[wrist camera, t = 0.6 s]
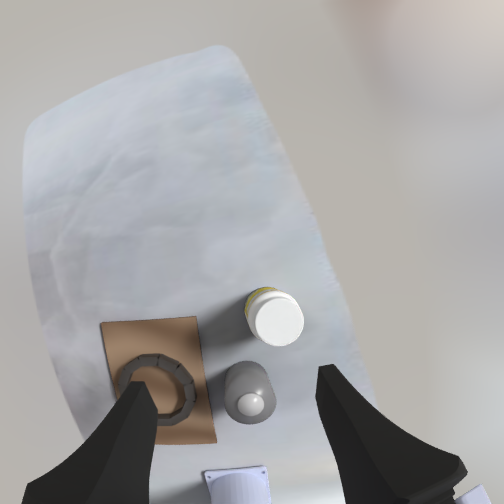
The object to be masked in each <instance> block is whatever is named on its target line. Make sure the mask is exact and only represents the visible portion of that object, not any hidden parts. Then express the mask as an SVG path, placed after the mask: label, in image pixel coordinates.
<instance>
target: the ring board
mask: <svg viewBox="0 0 504 504" xmlns="http://www.w3.org/2000/svg"><path fill="white" fill-rule="evenodd" d="M101 326H102V332H103V338H104V343H105V348H106V353H107V358H108V363H109V367H110V372H111V376H112V380H113V384H114V388H115V392H116V396H117V400H118V399H119V398H120V396H121V395H122V393H123V392H124V390H125V389H126V387H127V386H128V385H129V383H130V382H131V381H144V382H145V384H146V386H147V388H148V390H149V393H150V395H151V397H152V399H153V401H154V403H155V405H156V407H157V409H158V422H157V433H156V439H155V444H159V445H186V444H211V443H217V438H216V433H215V428H214V423H213V418H212V413H211V407H210V402H209V396H208V391H207V385H206V379H205V373H204V367H203V360H202V354H201V347H200V340H199V333H198V326H197V319H196V316H191V317H179V318H166V319H152V320H136V321H117V322H102V323H101Z"/></svg>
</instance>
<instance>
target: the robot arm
mask: <svg viewBox="0 0 504 504" xmlns="http://www.w3.org/2000/svg"><path fill="white" fill-rule="evenodd" d="M315 398H316V402H317V406H318V411H319V415H320V418H321V421H322V424H323V427H324V429H325V432H326V435H327V437H328V440H329V443H330V445H331V448H332V451H333V453H334V456H335V459H336V462H337V465H338V470H339V474H340V478H341V482H342V487H343V492H344V497H345V502H346V504H491V502H490V500H489V498H488V496H487V494H486V492H485V490H484V488H483V486H482V484H479V485H478V486H476V487H475V488H473V489H471V490H470V491H468V492H467V493H465V494H464V495H462V496H460V497H459V498H457V499H456V500H454V499H453V495H454V494H455V492H454V490H453V487H454V486H455V485H456V484H458V483H459V482H460V481H461V480H462V479H463V478H464V477H465V476H466V475H467V473H468V471H467V470H466V468H465V466H464V464H463V462H462V461H461V459H460V458H459V456H456V455H453V454H451V453H448V452H445V451H443V450H440V449H438V448H435V447H433V446H431V445H429V444H427V443H425V442H423V441H421V440H419V439H418V438H416V437H414V436H412V435H411V434H409V433H407V432H406V431H404V430H403V429H401V428H400V427H398V426H397V425H395V424H394V423H393V422H391V421H390V420H389V419H387V418H386V417H385V416H383V415H382V414H381V413H380V412H379V411H378V410H377V409H375V408H374V407H373V406H372V405H371V404H370V403H369V402H368V401H367V400H366V399H365V398H364V397H363V396H362V395H361V394H360V393H359V392H358V391H357V390H356V389H355V388H354V387H353V386H352V385H351V384H350V382H349V381H348V380H347V379H346V378H345V377H344V376H343V374H342V373H341V372H340V371H339V370H338V368H337V367H336V366H335V365H334V364H330V365H325V366H319V369H318V378H317V387H316V395H315ZM157 422H158V409H157V407H156V405H155V403H154V401H153V399H152V397H151V395H150V393H149V390H148V388H147V386H146V384H145V382H144V381H131V382H130V383H129V385H128V386H127V387H126V389H125V390H124V392H123V393H122V395H121V396H120V398H119V399H118V400H117V402H116V403H115V405H114V406H113V408H112V409H111V410H110V412H109V413H108V414H107V416H106V417H105V418H104V420H103V421H102V422H101V423H100V425H99V426H98V427H97V428H96V430H95V431H94V432H93V433H92V434H91V436H90V437H89V438H88V439H87V440H86V441H85V442H84V443H83V444H82V445H81V446H80V447H79V448H78V449H77V450H76V451H75V452H74V453H73V454H72V455H70V456H69V457H68V458H67V459H66V460H64V461H63V462H62V463H61V464H59V465H58V466H56V467H55V468H54V469H52V470H51V471H49V472H48V473H46V474H45V475H43V476H41V477H39V478H37V479H36V480H34V481H32V482H30V483H28V484H27V486H26V490H25V493H24V497H23V501H22V504H149V476H150V468H151V462H152V456H153V451H154V445H155V439H156V433H157ZM262 471H264V472H262ZM204 475H205V479H206V482H207V486H208V489H209V492H210V496H211V504H271V498H270V491H269V483H268V475H267V468H266V467H265V466H258V467H250V468H241V469H229V470H214V471H205V473H204ZM208 476H210V477H208Z"/></svg>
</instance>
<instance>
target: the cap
mask: <svg viewBox="0 0 504 504" xmlns="http://www.w3.org/2000/svg"><path fill="white" fill-rule="evenodd" d="M275 407H276V396H275V394H274V391H273V388H272V386H271V383H270V380H269V378H268V375H267V373H266V371H265V369H264V368H263V367H262V366H261V365H259V364H258V363H256V362H252V361H242V362H238V363H236V364H234V365H233V366H232V367H230V368H229V370H228V371H227V373H226V376H225V409H226V411H227V413H228V415H229V416H230V417H231V418H232V419H234V420H235V421H237V422H239V423H242V424H257V423H260V422H263V421H264V420H266V419H267V418H269V417H270V416H271V415H272V413H273V412H274V410H275Z"/></svg>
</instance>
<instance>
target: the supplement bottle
mask: <svg viewBox="0 0 504 504" xmlns="http://www.w3.org/2000/svg"><path fill="white" fill-rule="evenodd" d="M244 312H245V316H246V319H247V321H248V324H249V327H250V329H251V331H252V333H253V334H254V336H255V337H257V338H258V339H259V340H261V341H263V342H265V343H267V344H269V345H272V346H285V345H288V344H290V343H292V342H293V341H295V340H296V339H297V338H298V337H299V335H300V334H301V332H302V329H303V325H304V317H303V314H302V311H301V309H300V308H299V305H298V304H297V302H296V301H295V299H294V298H293V297H291V296H290V295H289V294H287V293H285V292H282V291H280V290H277V289H275V288H271V287H262V288H259V289H257V290H255V291H253V292H252V293H251V294H250V295H249V296H248V298H247V300H246V302H245V307H244Z"/></svg>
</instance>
